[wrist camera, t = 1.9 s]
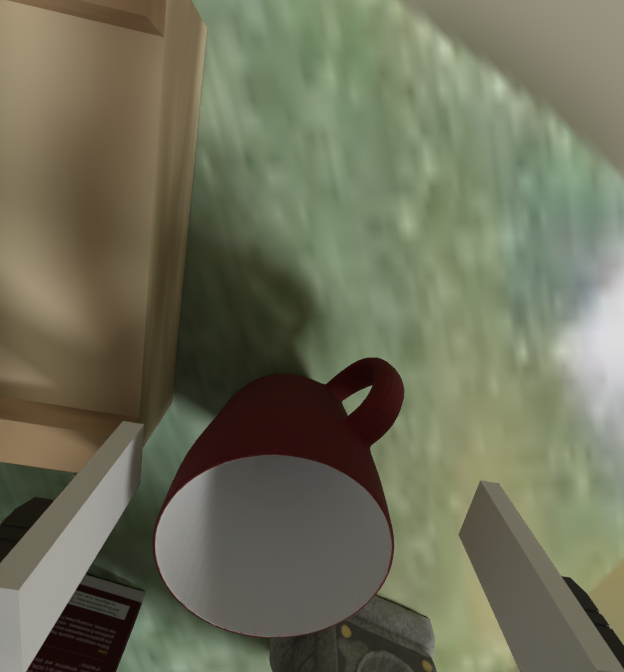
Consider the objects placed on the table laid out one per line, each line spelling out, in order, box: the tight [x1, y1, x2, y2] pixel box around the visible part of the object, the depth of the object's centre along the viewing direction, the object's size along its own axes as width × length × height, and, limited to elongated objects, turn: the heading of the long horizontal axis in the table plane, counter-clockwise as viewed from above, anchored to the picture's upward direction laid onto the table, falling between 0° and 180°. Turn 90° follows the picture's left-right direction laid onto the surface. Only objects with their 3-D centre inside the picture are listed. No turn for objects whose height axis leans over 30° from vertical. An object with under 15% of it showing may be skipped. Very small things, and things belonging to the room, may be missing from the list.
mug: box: [153, 358, 404, 638], centre depth 17 cm, size 10×8×10 cm
